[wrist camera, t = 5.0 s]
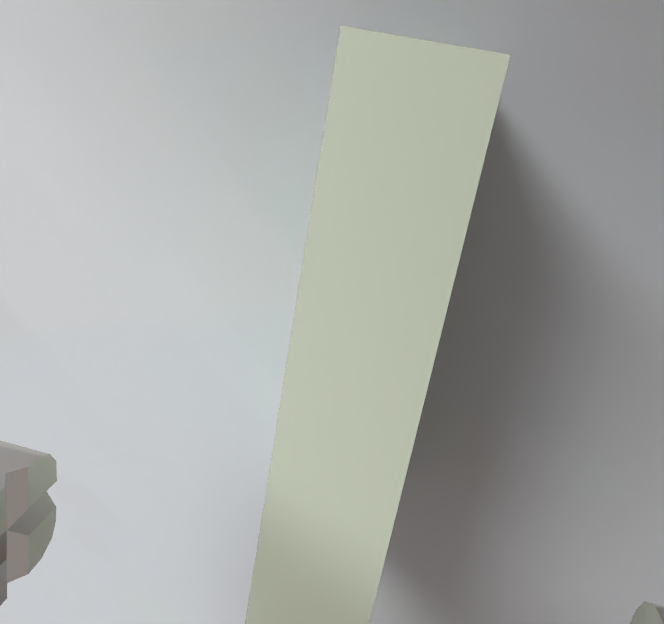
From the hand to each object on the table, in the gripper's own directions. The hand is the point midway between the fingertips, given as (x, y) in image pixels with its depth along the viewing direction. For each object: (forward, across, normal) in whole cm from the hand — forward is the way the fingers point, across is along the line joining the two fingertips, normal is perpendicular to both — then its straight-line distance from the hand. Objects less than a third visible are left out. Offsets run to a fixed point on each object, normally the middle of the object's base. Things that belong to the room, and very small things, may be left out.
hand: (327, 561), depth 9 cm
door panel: (+13, 0, 0) cm, 13 cm away
